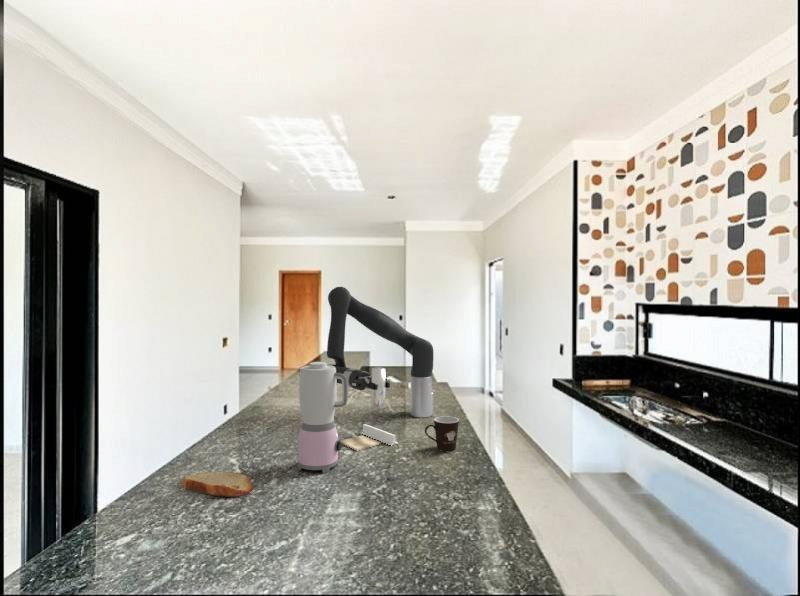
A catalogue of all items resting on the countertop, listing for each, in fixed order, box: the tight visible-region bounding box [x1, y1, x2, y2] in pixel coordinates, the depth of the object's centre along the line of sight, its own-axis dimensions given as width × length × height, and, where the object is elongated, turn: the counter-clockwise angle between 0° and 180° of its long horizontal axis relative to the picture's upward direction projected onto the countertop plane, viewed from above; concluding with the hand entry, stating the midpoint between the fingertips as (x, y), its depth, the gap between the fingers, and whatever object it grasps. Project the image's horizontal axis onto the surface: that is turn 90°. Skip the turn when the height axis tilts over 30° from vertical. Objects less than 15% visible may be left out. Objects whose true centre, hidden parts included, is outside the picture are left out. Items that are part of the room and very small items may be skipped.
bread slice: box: [180, 471, 254, 498], centre depth 128 cm, size 18×18×4 cm
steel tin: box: [370, 367, 387, 410], centre depth 170 cm, size 5×5×14 cm
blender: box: [297, 361, 349, 474], centre depth 142 cm, size 16×12×32 cm
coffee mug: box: [424, 415, 460, 452], centre depth 160 cm, size 12×9×10 cm
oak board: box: [339, 434, 381, 452], centre depth 164 cm, size 10×11×1 cm
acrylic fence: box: [360, 423, 399, 447], centre depth 169 cm, size 3×18×4 cm, turn 41°
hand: (382, 386), depth 168 cm, fingers closed on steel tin, 5 cm apart
